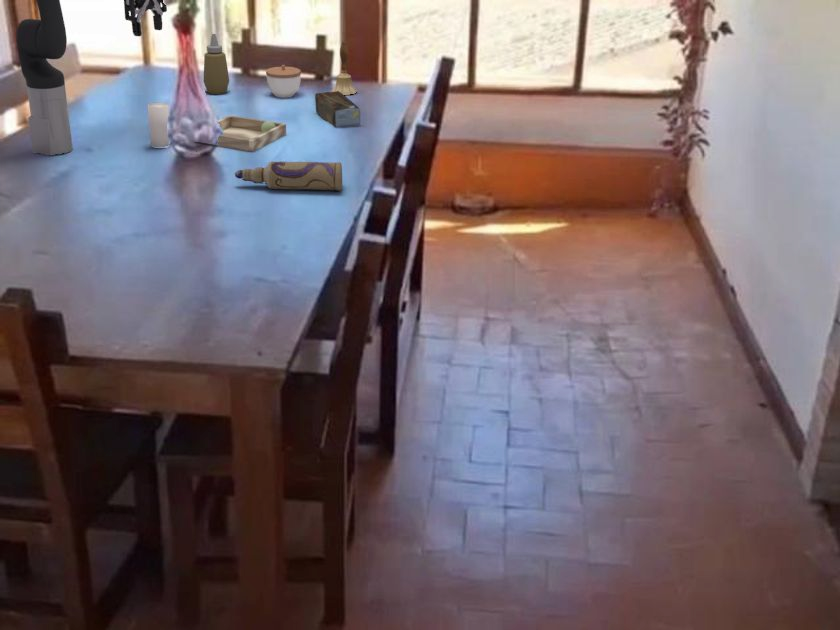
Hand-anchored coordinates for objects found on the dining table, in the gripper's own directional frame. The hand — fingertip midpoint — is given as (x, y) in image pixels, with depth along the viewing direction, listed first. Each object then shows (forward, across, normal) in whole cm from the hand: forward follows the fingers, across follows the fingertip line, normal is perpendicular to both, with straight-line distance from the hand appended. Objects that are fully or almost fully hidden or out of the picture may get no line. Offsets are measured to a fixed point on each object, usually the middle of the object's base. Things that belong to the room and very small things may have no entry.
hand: (148, 32), depth 286 cm
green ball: (+26, +8, -32) cm, 42 cm away
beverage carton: (+27, +33, -39) cm, 58 cm away
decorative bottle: (+26, -23, -59) cm, 68 cm away
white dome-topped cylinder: (+26, -13, -12) cm, 31 cm away
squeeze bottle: (+28, +40, +8) cm, 49 cm away
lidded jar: (+28, +48, -11) cm, 56 cm away
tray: (+26, +2, -27) cm, 38 cm away
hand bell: (+28, +61, -25) cm, 72 cm away
